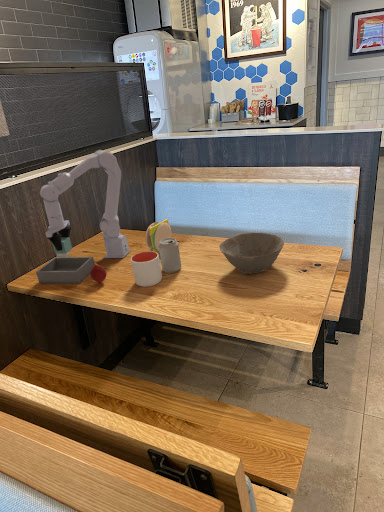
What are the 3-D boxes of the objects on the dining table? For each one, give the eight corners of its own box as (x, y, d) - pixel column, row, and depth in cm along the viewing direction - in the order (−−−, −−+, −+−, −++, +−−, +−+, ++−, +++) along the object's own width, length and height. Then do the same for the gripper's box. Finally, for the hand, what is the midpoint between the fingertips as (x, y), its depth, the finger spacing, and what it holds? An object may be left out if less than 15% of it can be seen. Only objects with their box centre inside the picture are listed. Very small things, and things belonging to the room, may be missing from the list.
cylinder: (71, 256, 176) (68, 242, 173) (66, 261, 171) (62, 246, 168) (62, 256, 177) (58, 242, 174) (56, 261, 172) (52, 246, 170)
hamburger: (160, 243, 178) (156, 218, 173) (175, 245, 174) (172, 219, 169) (144, 253, 169) (139, 227, 164) (159, 256, 165) (154, 229, 160)
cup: (141, 291, 138) (136, 265, 134) (131, 280, 146) (126, 256, 142) (166, 282, 141) (162, 257, 137) (156, 273, 150) (152, 248, 146)
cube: (72, 248, 162) (69, 237, 160) (66, 253, 157) (63, 241, 155) (61, 248, 163) (58, 237, 161) (55, 253, 159) (52, 242, 157)
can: (179, 273, 147) (174, 243, 142) (160, 273, 148) (155, 244, 144) (183, 265, 153) (179, 236, 149) (165, 265, 155) (160, 237, 150)
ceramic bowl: (296, 263, 143) (296, 237, 139) (261, 289, 129) (259, 262, 125) (246, 252, 158) (245, 228, 154) (209, 274, 143) (207, 249, 139)
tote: (95, 267, 161) (93, 256, 159) (79, 283, 149) (76, 271, 147) (57, 268, 165) (54, 257, 163) (39, 283, 153) (35, 271, 151)
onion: (111, 279, 149) (106, 260, 146) (103, 286, 144) (98, 267, 141) (97, 278, 151) (93, 259, 148) (89, 285, 146) (84, 266, 143)
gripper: (55, 210, 162) (63, 241, 167) (35, 222, 149) (44, 254, 154) (71, 209, 160) (78, 240, 165) (51, 221, 147) (60, 254, 152)
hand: (63, 247), depth 160 cm, fingers closed on cube, 5 cm apart
